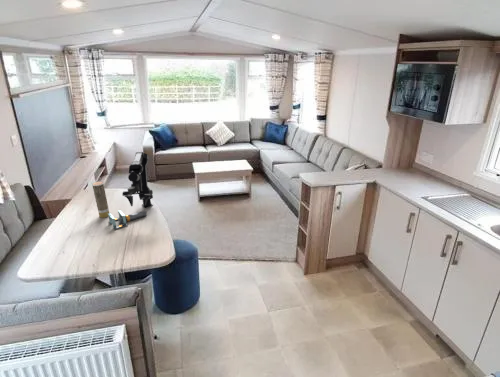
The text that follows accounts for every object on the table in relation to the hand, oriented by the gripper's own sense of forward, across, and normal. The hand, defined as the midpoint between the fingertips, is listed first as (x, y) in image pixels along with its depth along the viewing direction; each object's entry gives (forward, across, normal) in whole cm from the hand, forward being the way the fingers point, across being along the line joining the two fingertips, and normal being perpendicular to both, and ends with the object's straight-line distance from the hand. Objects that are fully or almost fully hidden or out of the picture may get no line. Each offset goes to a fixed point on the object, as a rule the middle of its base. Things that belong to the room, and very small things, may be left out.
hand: (138, 205), depth 204 cm
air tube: (+9, -10, +9) cm, 16 cm away
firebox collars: (+11, -17, +2) cm, 20 cm away
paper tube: (+6, -32, +11) cm, 35 cm away
